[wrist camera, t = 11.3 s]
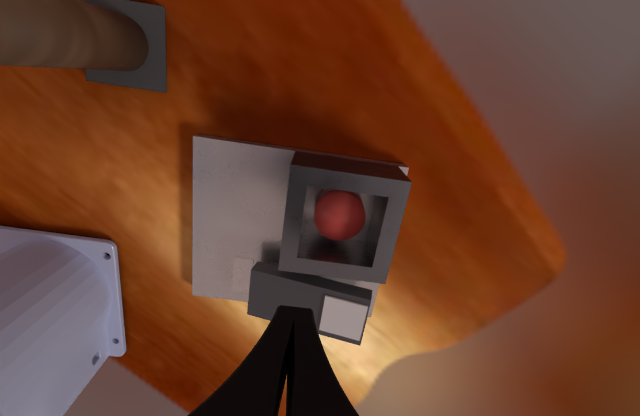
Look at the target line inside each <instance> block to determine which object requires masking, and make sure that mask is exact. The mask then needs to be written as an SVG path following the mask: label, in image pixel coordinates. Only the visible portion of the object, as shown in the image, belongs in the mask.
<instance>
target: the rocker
mask: <svg viewBox="0 0 640 416" xmlns="http://www.w3.org/2000/svg"><path fill="white" fill-rule="evenodd" d="M278 267H279V266H275V265H271V264H267V263H263V262H259V261H257V263H256V264H255V265H254V266H253V268H252V269H251V274H250V287H249V299H248V312H247V314H248V315H252V316H256V317H259V318H263V319H266V320H270V321H271V320H272V318H273V316H274V314H275V312H276V309H277V307H278V306H280V305H285V306H293V307H302V308H311V309H312V310H313V313H314V319H315V324H316V328H317V331H318V334H320V335H324V336H328V337H331V338H335V339H338V340H342V341H346V342H349V343H353V344H356V345H360V344H361V340H362V336H363V332H364V328H365V324H366V320H367V316H368V312H369V308H370V304H371V299H372V291H373V290H370V289H366V288H362V287H358V286H354V285H350V284H346V283H342V282H338V281H334V280H330V279H326V278H322V277H318V276H314V275H310V274H303V273H296V272H288V271H280V270H278Z"/></svg>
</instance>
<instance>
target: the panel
mask: <svg viewBox="0 0 640 416" xmlns="http://www.w3.org/2000/svg"><path fill="white" fill-rule="evenodd" d="M408 169H409V168H408V166H407V165H406V164H400V163H393V162H387V161H380V160H373V159H366V158H359V157H353V156H346V155H339V154H332V153H326V152H319V151H312V150H305V149H298V148H292V147H285V146H278V145H271V144H265V143H258V142H251V141H244V140H238V139H231V138H224V137H217V136H210V135H204V134H196V135H194V136H193V251H192V295H196V296H205V297H213V298H221V299H229V300H237V301H245V302H248V299H249V287H250V274H251V269H252V268H253V266H254V265H255V264H256V263H257V261H259V262H263V263H267V264H271V265H275V266H279V267H278V270H280V271H288V272H296V273H303V274H310V275H314V276H318V277H322V278H326V279H330V280H334V281H338V282H342V283H346V284H350V285H354V286H358V287H362V288H366V289H370V290H373V291H372V299H371V304H370V308H369V312H368V316H367V317H371V315H372V311H373V307H374V303H375V299H376V295H377V291H378V287H379V283H380V284H385V283H386V279H387V275H388V271H389V267H390V264H391V260H392V256H393V252H394V248H395V245H396V241H397V237H398V233H399V229H400V225H401V222H402V218H403V214H404V210H405V206H406V202H407V199H408V195H409V191H410V187H411V183H412V182H411V181H410V179H409V178H408V177H407V173H408ZM325 188H328V189H335V190H342V191H349V192H356V193H358V194H359V196H360V197H361V200H362V203H363V206H364V209H365V214H366V219H365V224H364V226H363V228H362V230H361V231H360V232H359V233H358V234H357V235H356V236H354V237H352V238H350V239H347V240H343V241H336V240H331V239H329V238H327V237H325V236H323V235H322V234H321V233H320V232H319V231H318V229H317V227H316V225H315V222H314V210H315V201H316V199H317V197H318V195H319V194H320V193H321V192H322V191H323V190H324V189H325Z"/></svg>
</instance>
